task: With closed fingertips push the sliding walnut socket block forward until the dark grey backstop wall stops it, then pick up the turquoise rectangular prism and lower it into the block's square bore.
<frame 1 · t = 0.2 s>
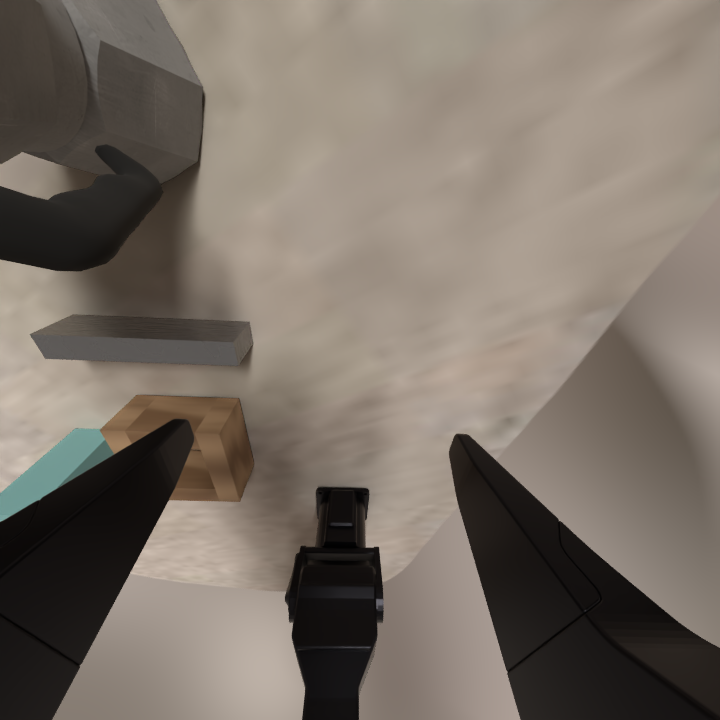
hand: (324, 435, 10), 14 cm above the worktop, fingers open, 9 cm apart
coffeepot: (144, 109, 16), on the worktop
socket block: (189, 449, 27), point 2 cm above the worktop, slide at 0.0 cm
turquoise rectangular prism: (103, 442, 30), on the worktop
backstop wall: (165, 329, 23), on the worktop
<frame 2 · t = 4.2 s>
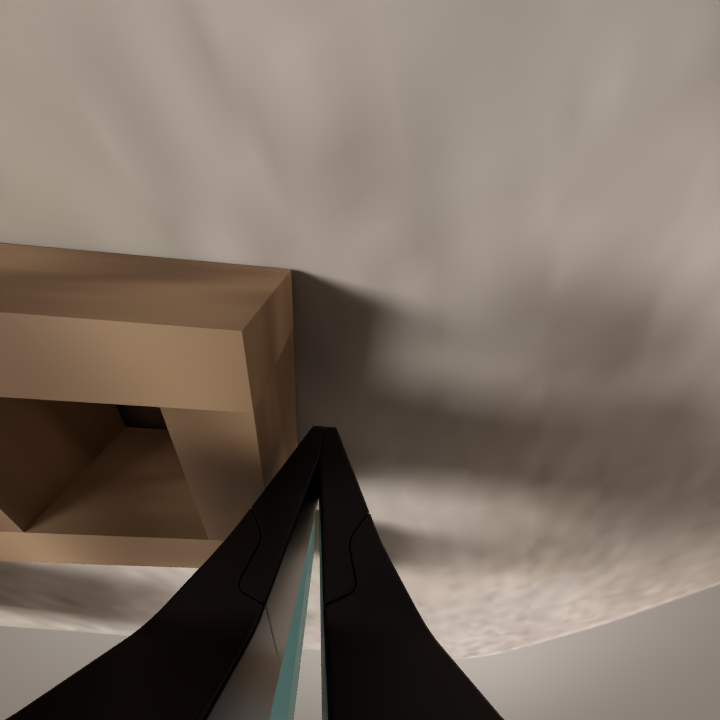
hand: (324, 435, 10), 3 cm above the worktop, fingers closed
socket block: (136, 420, 9), point 2 cm above the worktop, slide at 1.4 cm, touching gripper
turquoise rectangular prism: (282, 526, 17), on the worktop
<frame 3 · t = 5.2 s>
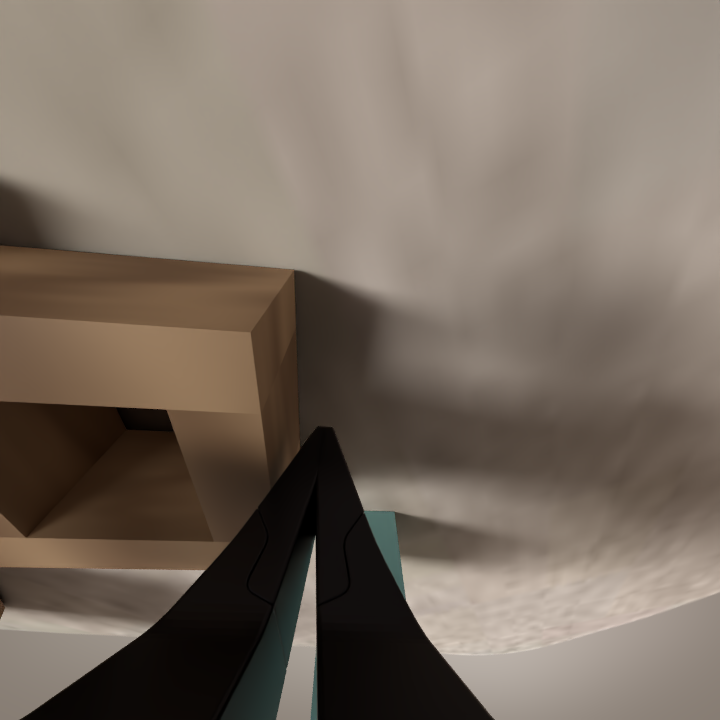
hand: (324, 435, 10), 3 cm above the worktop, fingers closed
socket block: (139, 423, 9), point 2 cm above the worktop, slide at 6.0 cm, touching backstop wall, gripper
turquoise rectangular prism: (358, 528, 18), on the worktop
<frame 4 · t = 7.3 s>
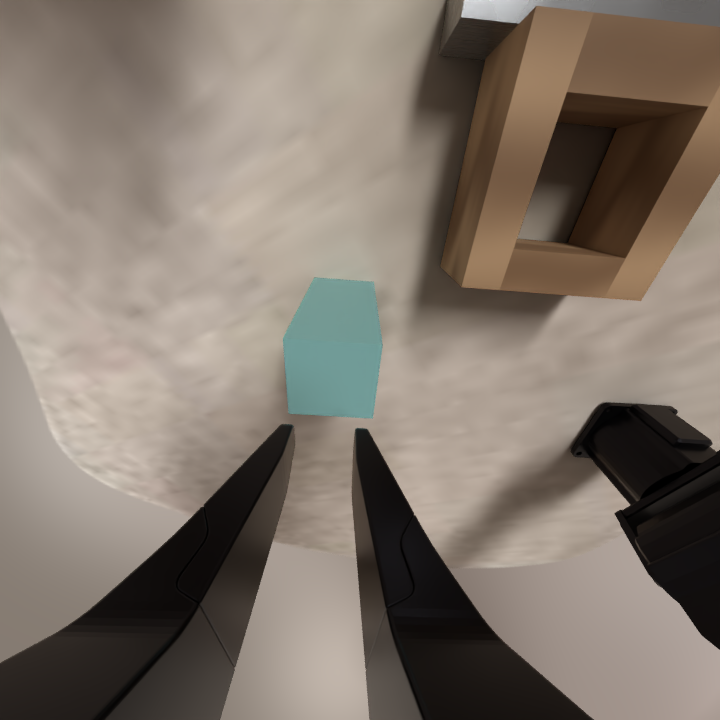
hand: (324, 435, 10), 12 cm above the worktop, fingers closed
socket block: (567, 186, 14), point 2 cm above the worktop, slide at 6.0 cm
turquoise rectangular prism: (342, 307, 20), on the worktop
backstop wall: (591, 40, 13), on the worktop
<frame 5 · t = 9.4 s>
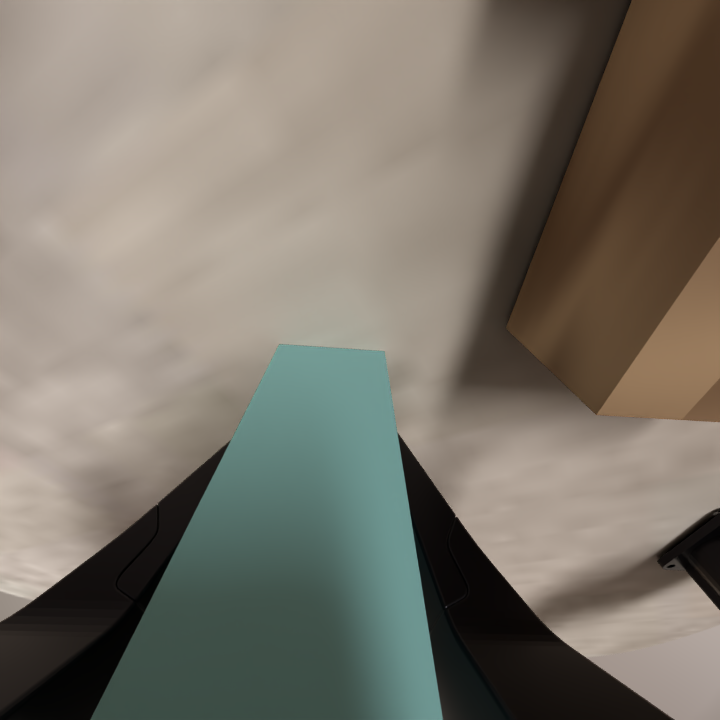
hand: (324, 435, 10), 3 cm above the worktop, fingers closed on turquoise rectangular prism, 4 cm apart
turquoise rectangular prism: (331, 389, 12), on the worktop, touching gripper
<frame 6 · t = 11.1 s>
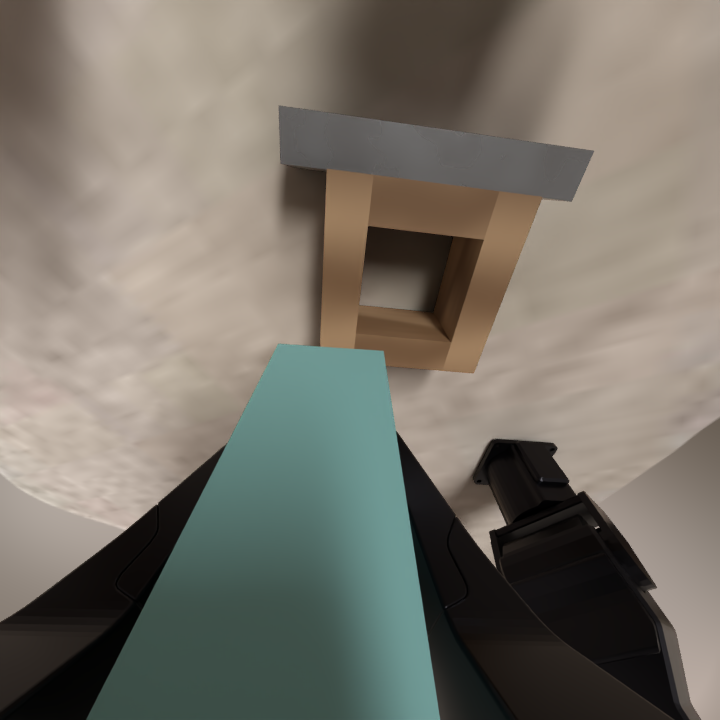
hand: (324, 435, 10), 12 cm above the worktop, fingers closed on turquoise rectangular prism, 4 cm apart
socket block: (407, 278, 17), point 2 cm above the worktop, slide at 6.0 cm
turquoise rectangular prism: (330, 389, 12), point 10 cm above the worktop, touching gripper
backstop wall: (421, 162, 16), on the worktop
when the fingers open (6 cm above the worktop, at t = 12.9 s): turquoise rectangular prism drops 3 cm, resting in socket block.
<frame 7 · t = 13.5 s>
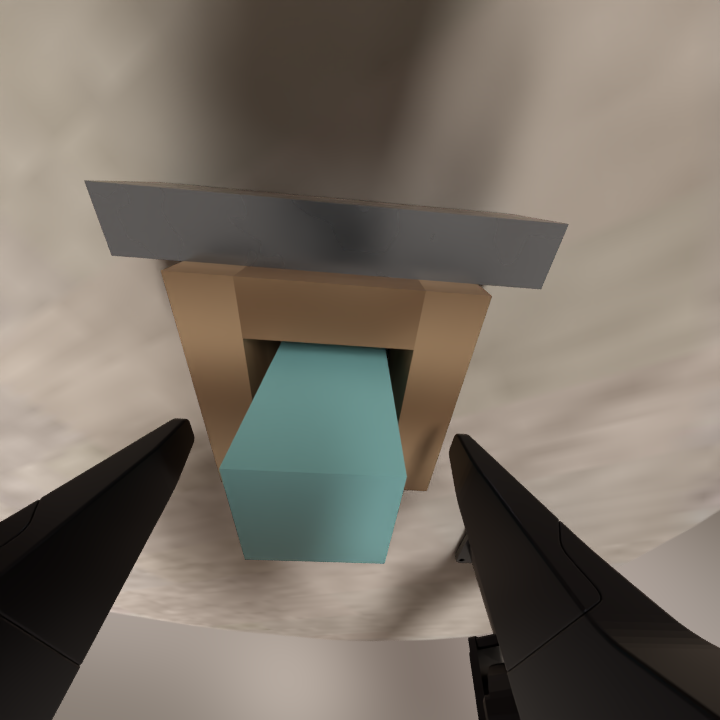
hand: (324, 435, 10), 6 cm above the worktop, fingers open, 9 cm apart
socket block: (332, 375, 13), point 2 cm above the worktop, slide at 6.0 cm
turquoise rectangular prism: (337, 348, 15), resting in socket block
backstop wall: (340, 226, 12), on the worktop
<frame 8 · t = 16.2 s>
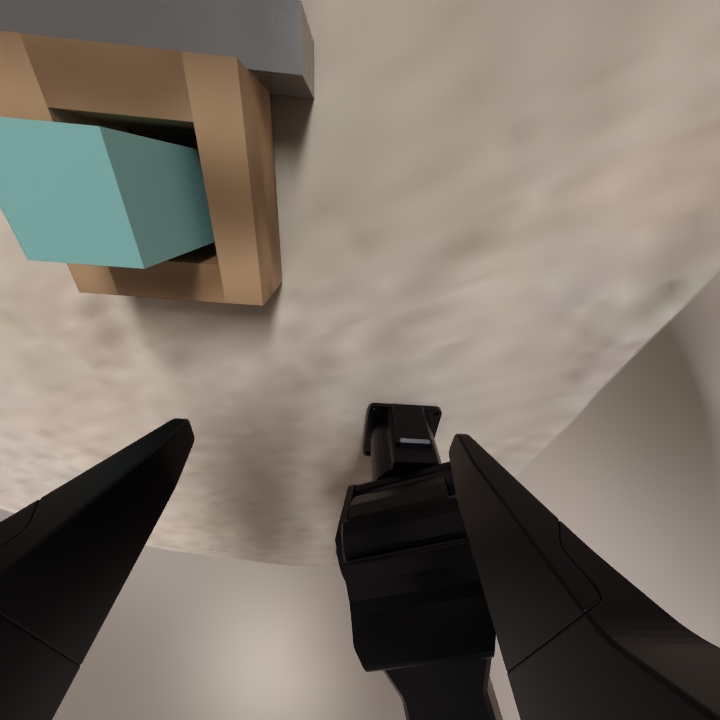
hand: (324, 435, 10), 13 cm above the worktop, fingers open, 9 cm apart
socket block: (172, 194, 15), point 2 cm above the worktop, slide at 6.0 cm
turquoise rectangular prism: (197, 194, 17), resting in socket block
backstop wall: (168, 55, 14), on the worktop
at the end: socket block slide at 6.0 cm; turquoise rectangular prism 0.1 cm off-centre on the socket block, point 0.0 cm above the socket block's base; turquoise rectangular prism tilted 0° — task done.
